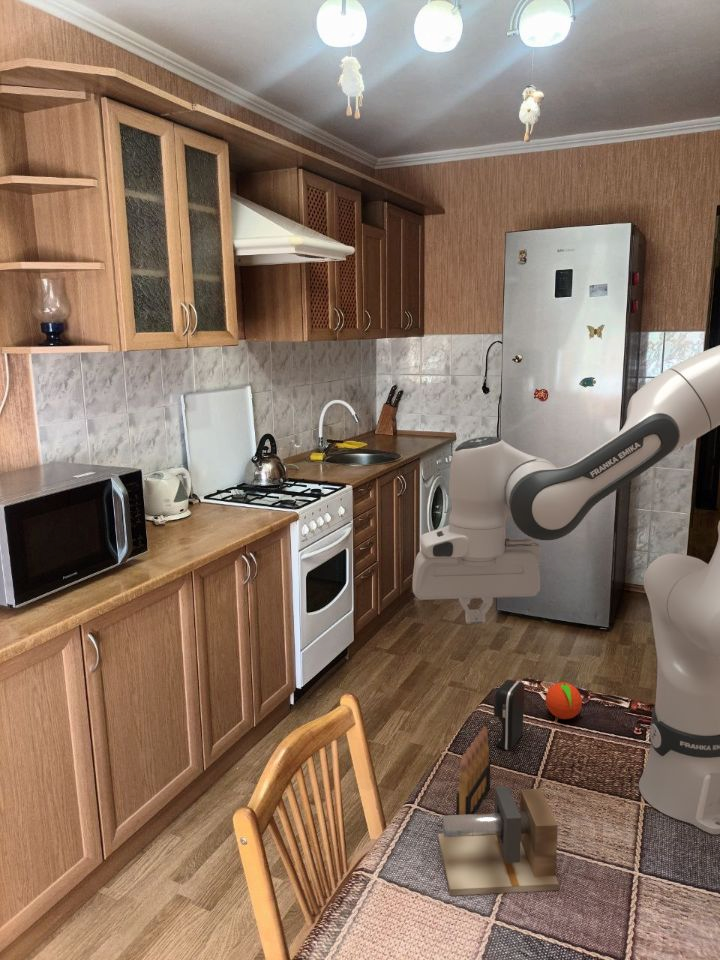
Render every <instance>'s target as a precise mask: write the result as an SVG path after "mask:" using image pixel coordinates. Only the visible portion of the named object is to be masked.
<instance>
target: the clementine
mask: <svg viewBox="0 0 720 960" xmlns="http://www.w3.org/2000/svg"><path fill="white" fill-rule="evenodd" d="M545 704H546V707H547V710H549V712H550V713H551V714H552V715H553V716H555V717H556V718H557V719H561V720H570V719H572V718H573V719H574V718H575V717H576V716H577V715H578V714H580V711H581V709H582V704H583V699H582V696H581V692H580V691H579V690H578V689H577V688H576V687H575V686H574V685H572V684H571V683H568V682H565V681H564V682H563V681H562V682H557V683H555V684H553V685H552V686H551V687H549V688H548V690H547V692H546V695H545Z"/></svg>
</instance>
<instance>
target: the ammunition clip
mask: <svg viewBox="0 0 720 960" xmlns="http://www.w3.org/2000/svg"><path fill="white" fill-rule="evenodd" d="M487 729H488V728H487V727H486V725H483V727H482V729H481V730H479V732H478V735H476V736H475V738H474V739H473V741H471V742H470V746H468V747H467V748H466V751H465V752H464V753H463V754H462V757H461V760H460V769H459V771H460V772H459V777H458V791H457V793H456V809H455V810H456V813H455V815H467V814H477V811H478V810H479V808H480V807H481V806H482V803H483V802H484V800H485V798H486V797H487V795H488V794H489V792H490V790H491V762H490V748H489V735H488V734H489V733H488V730H487Z"/></svg>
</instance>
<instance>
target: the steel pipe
mask: <svg viewBox="0 0 720 960" xmlns="http://www.w3.org/2000/svg"><path fill="white" fill-rule="evenodd" d="M519 813H520V816H521V834H529V833H530V820H529V816H528V813H527V812H520V811H519ZM442 832H443V833H442V834H444V837H466V836H487V835H504V820H503V817H502V814H501V813H494V812H491V813H475V814H467V815H456V814H452V815H451V814H450V815H442Z"/></svg>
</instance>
